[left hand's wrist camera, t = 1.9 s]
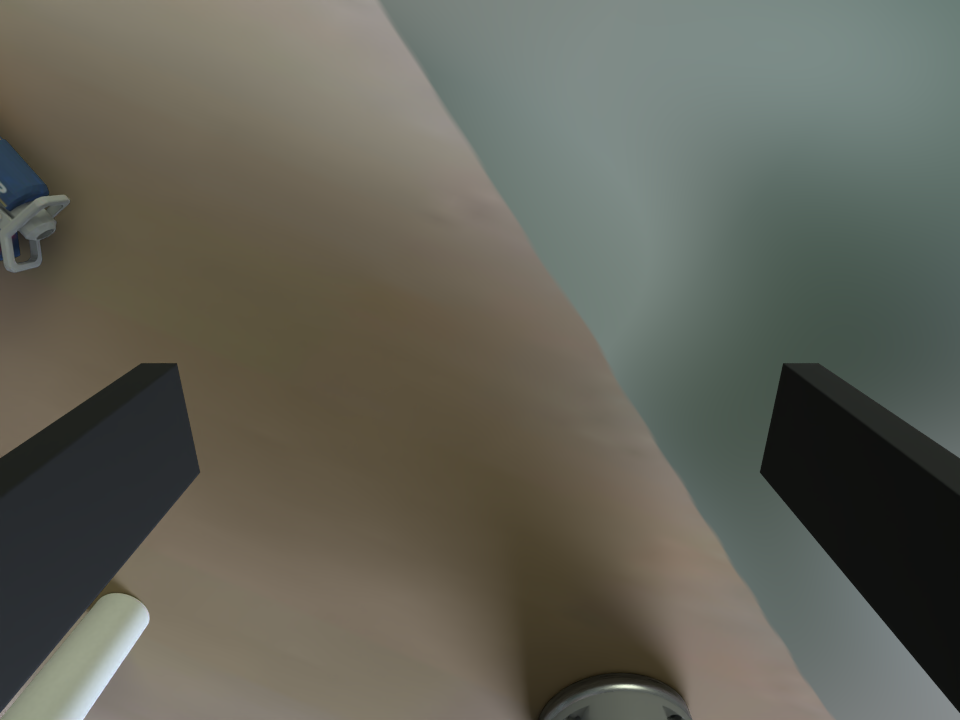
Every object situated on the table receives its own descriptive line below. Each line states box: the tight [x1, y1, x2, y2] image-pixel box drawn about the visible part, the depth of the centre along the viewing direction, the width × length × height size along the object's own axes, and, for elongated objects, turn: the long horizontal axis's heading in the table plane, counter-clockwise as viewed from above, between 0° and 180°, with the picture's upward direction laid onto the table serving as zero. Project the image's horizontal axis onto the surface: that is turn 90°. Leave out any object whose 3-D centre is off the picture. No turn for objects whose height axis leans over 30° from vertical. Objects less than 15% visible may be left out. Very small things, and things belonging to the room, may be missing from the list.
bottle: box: [0, 593, 149, 720], centre depth 42 cm, size 5×5×19 cm
